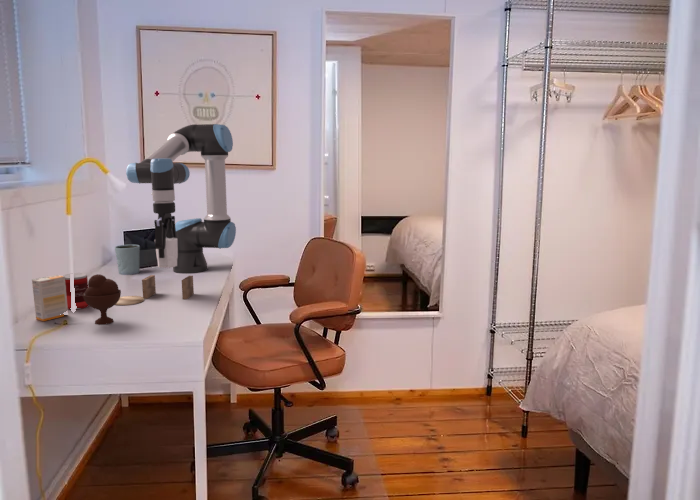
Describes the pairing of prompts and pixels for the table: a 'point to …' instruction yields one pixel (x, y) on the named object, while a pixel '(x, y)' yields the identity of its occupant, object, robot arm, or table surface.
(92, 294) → the ice cream bowl
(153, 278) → the walnut cradle
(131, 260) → the grey green cup
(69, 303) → the canned food
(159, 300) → the table surface
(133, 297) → the cork coaster
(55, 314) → the supplement box
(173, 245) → the white cup
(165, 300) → the table surface
